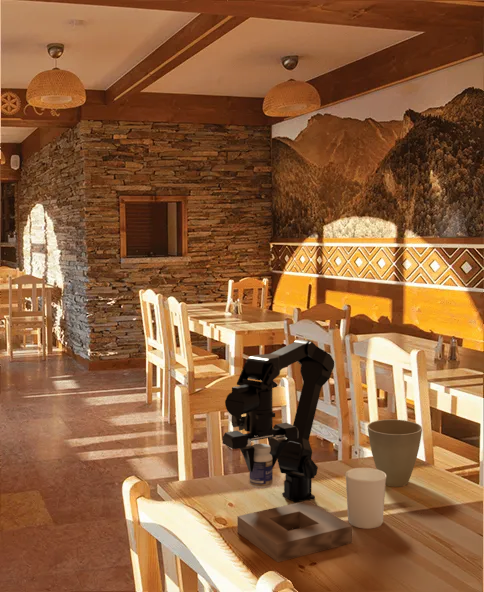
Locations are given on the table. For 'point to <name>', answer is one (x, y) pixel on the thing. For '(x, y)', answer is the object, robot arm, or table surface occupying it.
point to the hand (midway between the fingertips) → (261, 469)
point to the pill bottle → (262, 467)
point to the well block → (290, 544)
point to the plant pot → (395, 448)
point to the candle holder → (365, 497)
